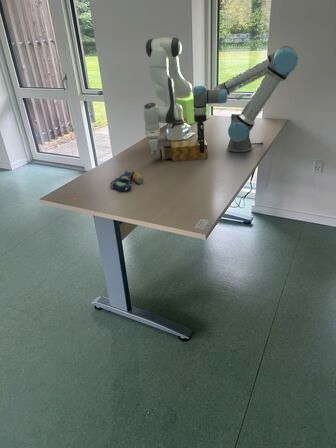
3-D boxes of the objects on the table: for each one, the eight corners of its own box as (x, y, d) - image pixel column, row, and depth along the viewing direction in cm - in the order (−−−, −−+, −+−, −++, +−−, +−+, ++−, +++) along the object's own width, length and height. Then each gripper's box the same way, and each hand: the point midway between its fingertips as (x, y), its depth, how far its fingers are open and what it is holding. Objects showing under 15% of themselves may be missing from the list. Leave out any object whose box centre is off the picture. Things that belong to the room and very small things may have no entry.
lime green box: (191, 115, 302) (190, 88, 290) (208, 118, 288) (208, 90, 276) (170, 121, 289) (168, 93, 277) (187, 125, 275) (185, 95, 263)
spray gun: (149, 177, 188) (127, 175, 194) (148, 170, 185) (126, 168, 192) (130, 194, 172) (106, 191, 179) (129, 187, 170) (105, 183, 176)
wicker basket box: (172, 161, 208) (171, 147, 203) (171, 155, 217) (170, 142, 213) (207, 158, 207) (207, 144, 203) (205, 152, 217) (204, 139, 212)
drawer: (151, 161, 208) (150, 150, 204) (152, 155, 216) (151, 145, 213) (193, 157, 207) (192, 147, 204) (191, 152, 216) (191, 142, 212)
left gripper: (147, 127, 212) (150, 148, 219) (147, 137, 195) (149, 159, 202) (157, 126, 212) (159, 147, 219) (158, 136, 195) (160, 158, 202)
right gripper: (192, 110, 209) (193, 144, 220) (195, 119, 189) (196, 156, 200) (204, 109, 209) (204, 143, 220) (209, 118, 189) (209, 155, 200)
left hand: (155, 153), depth 210 cm, fingers closed, pressing on drawer
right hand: (201, 149), depth 210 cm, fingers closed on wicker basket box, 11 cm apart
